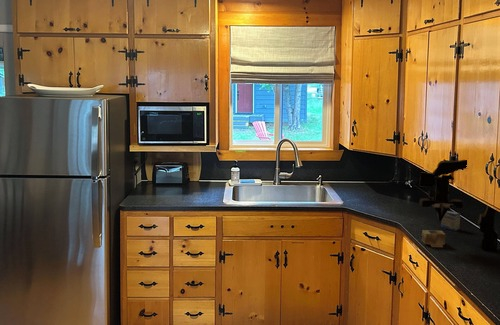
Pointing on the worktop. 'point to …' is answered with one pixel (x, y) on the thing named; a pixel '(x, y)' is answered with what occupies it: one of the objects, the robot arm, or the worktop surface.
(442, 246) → the mat
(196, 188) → the worktop surface
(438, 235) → the wooden block
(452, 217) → the medicine box
